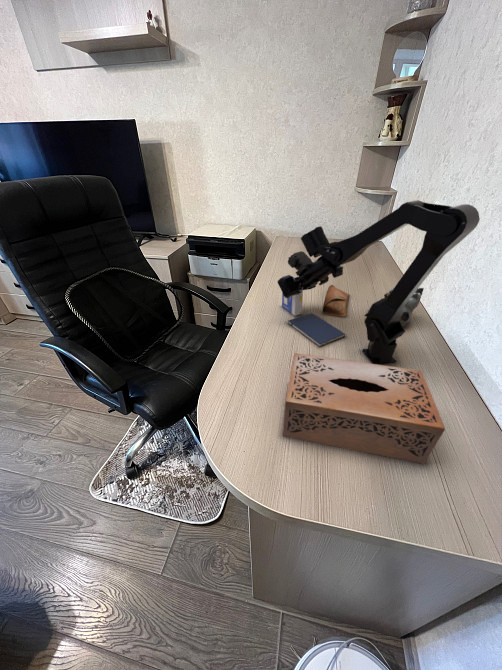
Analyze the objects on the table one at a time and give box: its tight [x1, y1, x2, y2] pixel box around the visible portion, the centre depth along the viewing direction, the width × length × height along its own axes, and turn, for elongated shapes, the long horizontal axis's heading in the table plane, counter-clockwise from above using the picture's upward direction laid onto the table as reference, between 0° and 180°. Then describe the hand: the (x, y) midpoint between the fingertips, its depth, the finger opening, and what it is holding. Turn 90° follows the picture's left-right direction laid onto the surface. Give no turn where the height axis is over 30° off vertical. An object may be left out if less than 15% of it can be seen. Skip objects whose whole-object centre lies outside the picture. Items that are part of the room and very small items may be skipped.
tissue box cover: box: [282, 352, 446, 465], centre depth 56 cm, size 26×14×10 cm, turn 76°
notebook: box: [287, 312, 346, 348], centre depth 87 cm, size 15×10×1 cm
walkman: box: [281, 274, 304, 317], centre depth 94 cm, size 8×3×12 cm, turn 29°
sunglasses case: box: [322, 284, 350, 318], centre depth 100 cm, size 18×7×7 cm
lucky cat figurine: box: [366, 287, 425, 328], centre depth 89 cm, size 15×12×14 cm
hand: (289, 291), depth 95 cm, fingers closed on walkman, 3 cm apart
